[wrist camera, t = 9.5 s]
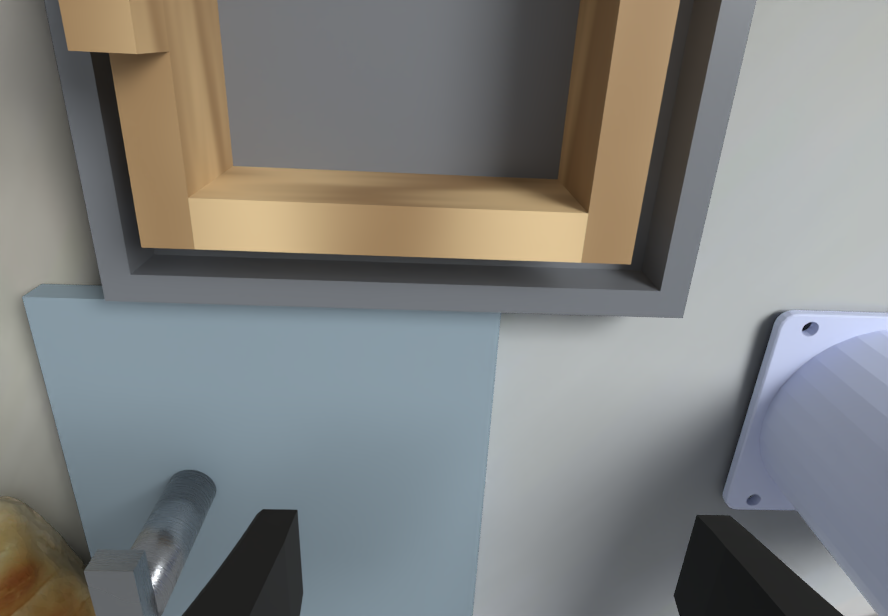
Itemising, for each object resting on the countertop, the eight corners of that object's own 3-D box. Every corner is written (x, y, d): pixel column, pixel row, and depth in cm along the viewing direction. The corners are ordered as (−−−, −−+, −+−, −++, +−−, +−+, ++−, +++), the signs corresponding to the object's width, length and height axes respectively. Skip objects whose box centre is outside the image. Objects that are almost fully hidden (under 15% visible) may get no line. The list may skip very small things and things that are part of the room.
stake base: (497, 297, 19) (501, 311, 18) (469, 608, 25) (470, 630, 24) (42, 283, 19) (22, 296, 18) (121, 606, 24) (109, 629, 23)
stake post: (209, 441, 20) (141, 571, 15) (222, 532, 22) (164, 677, 17) (160, 440, 20) (75, 571, 15) (176, 532, 21) (105, 677, 17)
